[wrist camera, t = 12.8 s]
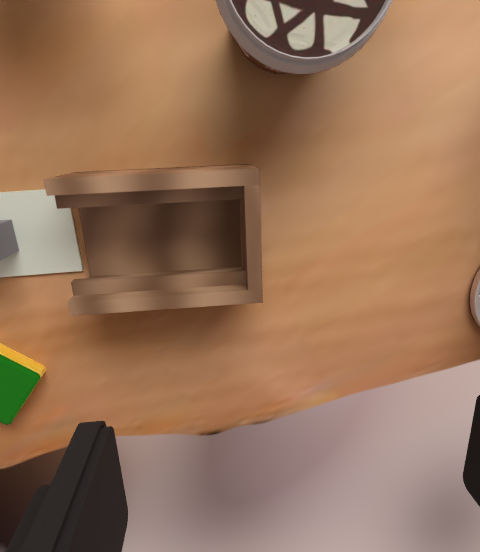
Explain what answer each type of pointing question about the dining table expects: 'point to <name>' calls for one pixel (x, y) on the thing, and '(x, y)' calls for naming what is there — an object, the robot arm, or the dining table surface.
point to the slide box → (165, 237)
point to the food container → (301, 31)
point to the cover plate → (36, 235)
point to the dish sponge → (16, 381)
